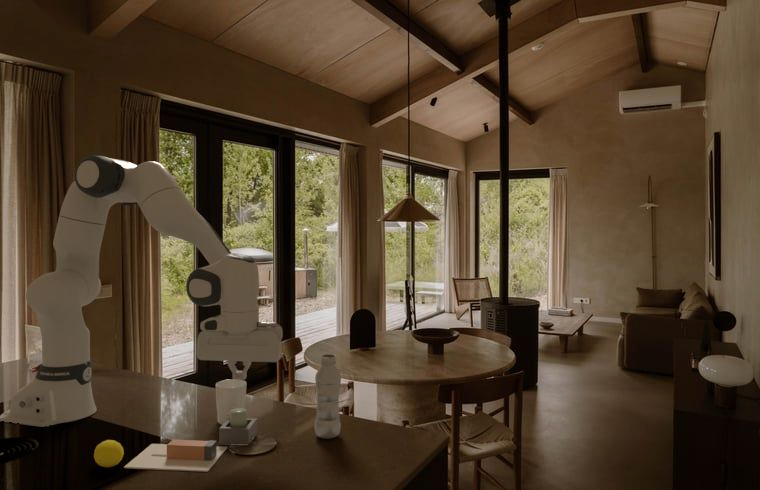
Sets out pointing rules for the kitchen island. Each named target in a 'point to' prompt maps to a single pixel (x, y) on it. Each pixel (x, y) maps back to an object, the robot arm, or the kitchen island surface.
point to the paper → (170, 460)
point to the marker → (191, 449)
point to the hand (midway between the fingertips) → (239, 378)
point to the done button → (238, 417)
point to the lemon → (108, 453)
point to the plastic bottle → (327, 398)
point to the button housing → (237, 433)
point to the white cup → (229, 397)
